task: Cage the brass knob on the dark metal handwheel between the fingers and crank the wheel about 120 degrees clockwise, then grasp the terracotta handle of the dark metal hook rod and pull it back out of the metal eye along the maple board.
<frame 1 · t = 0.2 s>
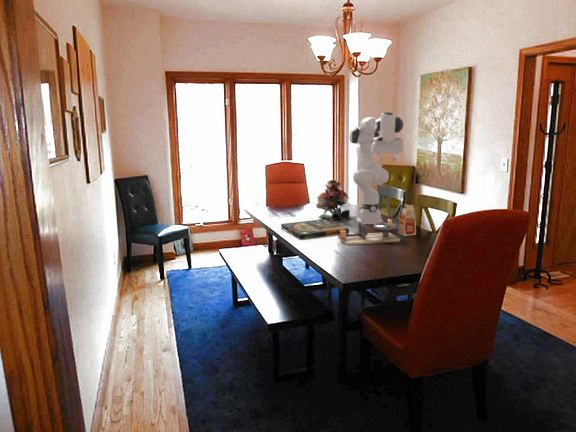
hand: (387, 160, 279), 48 cm above the table, fingers open, 8 cm apart
rose bouquet: (332, 218, 336), on the table
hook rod: (353, 233, 270), point 4 cm above the table, slide at 0.0 cm
pizza box: (313, 231, 299), on the table
handwheel: (386, 222, 270), point 11 cm above the table, hinge at 0.0°
milk carton: (407, 234, 284), on the table
base board: (368, 239, 272), on the table
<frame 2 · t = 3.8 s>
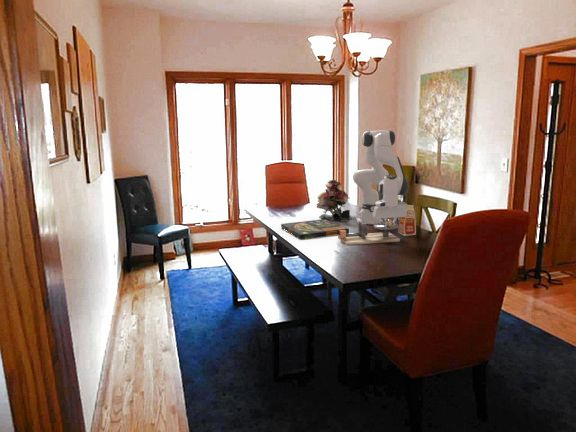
hand: (389, 225, 264), 10 cm above the table, fingers closed on handwheel, 2 cm apart
handwheel: (386, 222, 270), point 11 cm above the table, hinge at 0.0°, touching gripper
everything else where it was.
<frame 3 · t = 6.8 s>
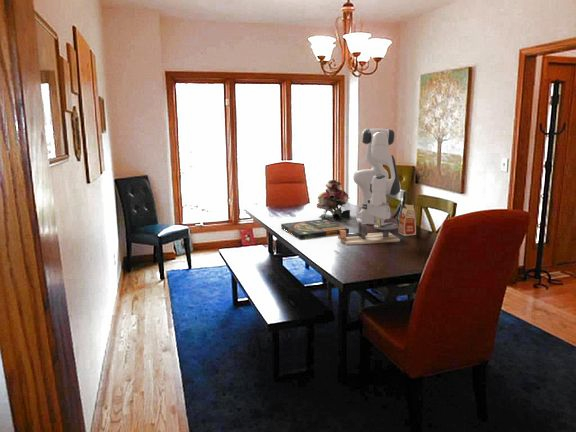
hand: (378, 223, 268), 10 cm above the table, fingers open, 5 cm apart
handwheel: (385, 222, 270), point 11 cm above the table, hinge at -56.7°, touching gripper
everything else where it was.
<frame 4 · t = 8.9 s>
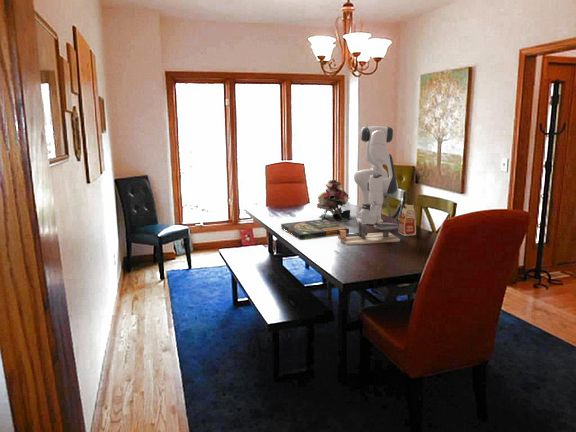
hand: (375, 222, 273), 10 cm above the table, fingers open, 5 cm apart
handwheel: (385, 222, 270), point 11 cm above the table, hinge at -111.8°
everything else where it was.
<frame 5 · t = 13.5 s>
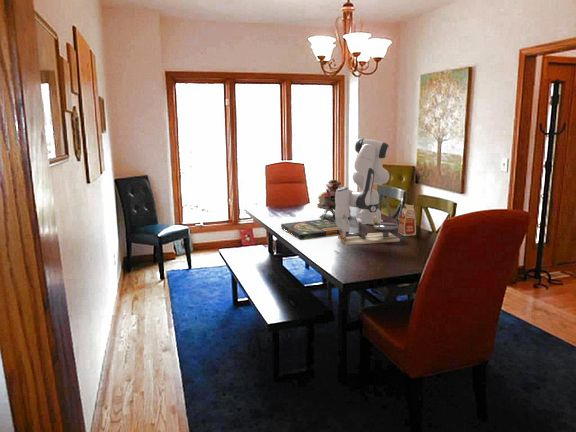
hand: (342, 235, 269), 3 cm above the table, fingers closed on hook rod, 4 cm apart
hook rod: (353, 233, 270), point 4 cm above the table, slide at 0.0 cm, touching gripper
everything else where it was.
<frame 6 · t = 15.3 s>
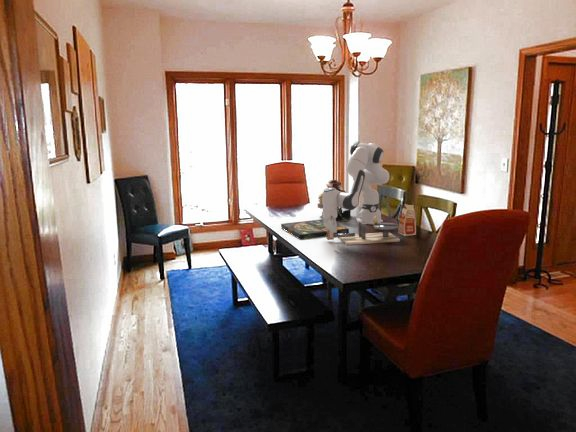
hand: (330, 236, 268), 3 cm above the table, fingers closed on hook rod, 4 cm apart
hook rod: (340, 234, 269), point 4 cm above the table, slide at 7.8 cm, touching gripper
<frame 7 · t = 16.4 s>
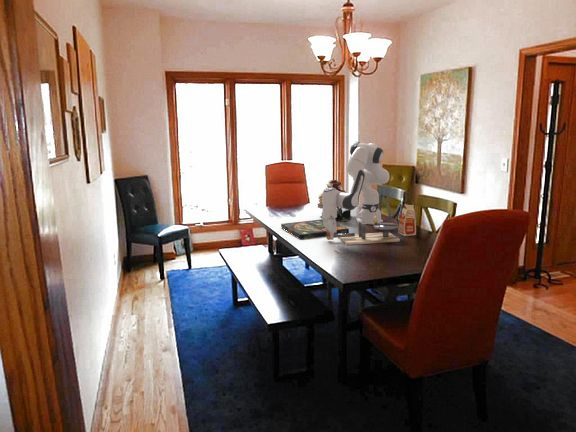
hand: (329, 236, 268), 3 cm above the table, fingers open, 8 cm apart
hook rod: (340, 234, 269), point 4 cm above the table, slide at 8.0 cm
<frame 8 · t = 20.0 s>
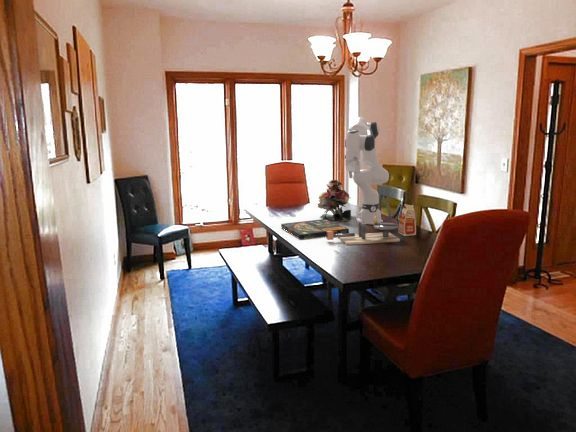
hand: (352, 178, 273), 37 cm above the table, fingers open, 8 cm apart
at the end: handwheel at -112° (first picture: +0°); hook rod slide at 8.0 cm; the gripper is holding nothing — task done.
